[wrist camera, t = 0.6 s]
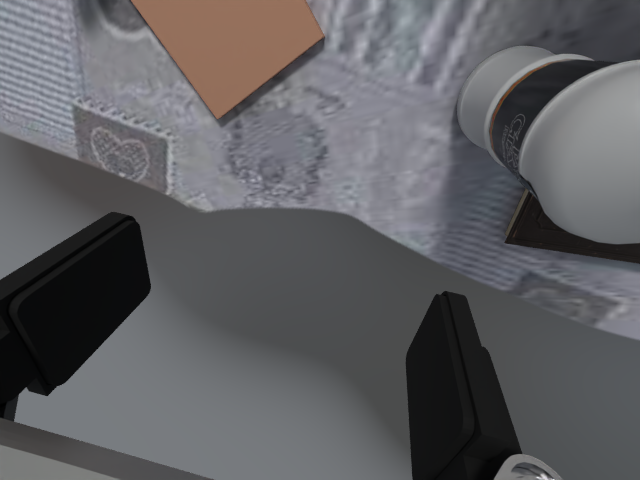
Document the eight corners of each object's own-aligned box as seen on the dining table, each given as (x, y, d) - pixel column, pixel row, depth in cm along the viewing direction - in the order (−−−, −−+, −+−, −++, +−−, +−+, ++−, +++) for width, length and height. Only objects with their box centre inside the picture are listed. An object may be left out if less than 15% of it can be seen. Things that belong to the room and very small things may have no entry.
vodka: (575, 102, 31) (1395, 359, 6) (485, 163, 35) (727, 457, 10) (528, 20, 28) (1635, -161, 3) (436, 96, 33) (603, 271, 8)
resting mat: (229, -144, 26) (224, -150, 25) (324, 36, 32) (323, 36, 31) (126, -14, 32) (119, -16, 32) (220, 117, 38) (217, 119, 37)
